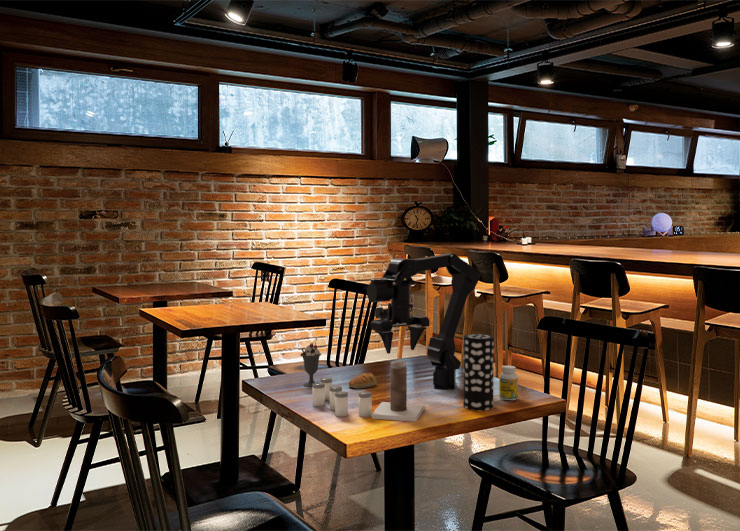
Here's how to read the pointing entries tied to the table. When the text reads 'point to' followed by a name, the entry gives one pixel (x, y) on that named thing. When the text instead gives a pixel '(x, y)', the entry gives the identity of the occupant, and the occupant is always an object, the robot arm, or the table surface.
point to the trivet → (407, 415)
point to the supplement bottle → (508, 383)
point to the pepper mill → (398, 386)
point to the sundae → (311, 361)
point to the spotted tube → (478, 371)
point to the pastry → (363, 381)
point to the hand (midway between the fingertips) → (400, 351)
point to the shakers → (339, 398)
